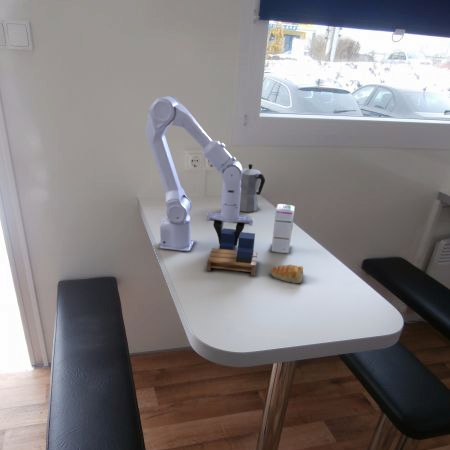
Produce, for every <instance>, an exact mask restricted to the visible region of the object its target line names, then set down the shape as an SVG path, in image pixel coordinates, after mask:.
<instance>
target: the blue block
mask: <svg viewBox="0 0 450 450" xmlns="http://www.w3.org/2000/svg"><path fill="white" fill-rule="evenodd" d="M235 236H236V228H235V229H234V228H226V227H223V228H222V232H221V243H220V244H219V249H225V250H234V251H236V246H235Z"/></svg>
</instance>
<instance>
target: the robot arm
mask: <svg viewBox="0 0 450 450" xmlns="http://www.w3.org/2000/svg"><path fill="white" fill-rule="evenodd" d="M147 113H148V116H147V121H146V126H145V136H146V139H147V142H148V145H149V148H150V151H151V154H152V157H153V160H154V163H155V166H156V169H157V172H158V175H159V179H160V181H161V185H162V187H163V190H164V192H165V205H166V211H165V212H166V213H165V214H166V217H163V218H162V219H161V221H160V227H159V232H160V233H159V234H160V235H159V237H160V246H159V248H160V249H163V250H172V251H180V252H181V251H182V252H190V250H191V248H192V246H193V244H194V242H195V241H194V240H192V239H191V238H192V237H191V233H192V230H191V225H192V222H191V221H192V218H191V217H190V214H189V213H190V211H191V210H192V201H191V199H190V198H189V197H188V195H187V194H186V192H185V189H184V188H183V187H182V185H181V182H180V180H179V176H178V173H177V170H176V166H175V163H174V160H173V157H172V154H171V150H170V148H169V145H168V141H167V138H166V132H167V131H168V129H169V126H170V125H171V126H174V127H179V128H183V129H184V130H185V131H186V132H187V134H189V135H190V136H191V137H192V138H193V139H194V140H195V141H196V143H198V144H199V145H200V146H201V148H203V156H204V157H205V158H206V159H207V160H208V162H209V163H210V164H211V165H212V166H213V167H214V168H215V170H217V172H218V173H221V179H222V188H221V203H220V204H221V205H220V213H217V212H216V213H209V212H207V214H206V219H205V221H206V222H213V228H214V230H215V232H216V235H217V239H218V245H220V243H221V232H222V230H223V228H224V223H228V224H229V223H230V224H236V225H235V229H236V236H235V247H238V239H239V235H240V232H243V230H244V228H245V226H246V225H248V226H250V227H251V226H252V227H253V224H254V217H250V216H246V215H241V214H240V198H241V179H242V173H243V169H244V168H243V165H242V164H241V162H240V161H239V160H237V158H236V157H235V156H232V155H231V154H230V153H229V151H228V150H227V149H226V144H225V143H224V142H220V141H219V140H215V139H211V137H210V136H209V135H208V133H207V132H206V131H205V130H204V128H203V127H202V126H201V125H200V124H199V123H198V121H197V119H196V118H194V116H193V115H192V114H191V113H190V112H189V110H188V109H187V108H186V107H185V105H183V103H180V102H179V100H178V98H177V97H176V96H174V95H171V94H167V95H163V96H162V97H158V98H156V99H155V100H154V101H153V102H152V104H151V105H150V107H149V109H148V110H147ZM171 123H172V124H171Z"/></svg>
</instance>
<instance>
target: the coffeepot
mask: <svg viewBox="0 0 450 450" xmlns="http://www.w3.org/2000/svg"><path fill="white" fill-rule="evenodd" d="M253 166H254V165H253V164H252V163H250V164H248V168H242V169H243V173H242V179H241V198H240V211H241V212H245V213H253V212H256V211H258V209H259V202H258V201H259V200H258V196H260V195H261V193H262V190H263V187H264V186H265V182H266V178H265V176H264V174H263V173H262V172H261V171H260V170H257V169H255V168H253ZM240 211H239V212H240Z"/></svg>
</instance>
